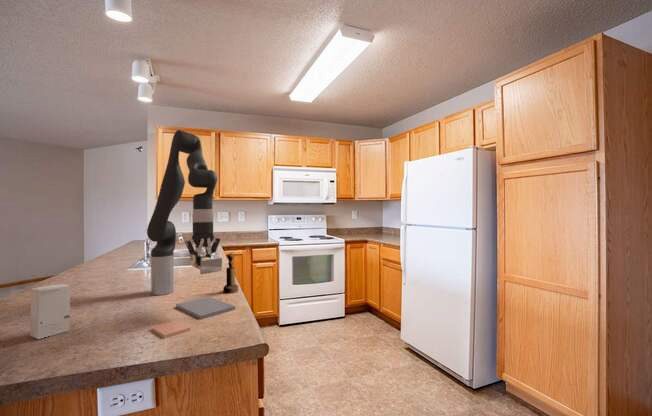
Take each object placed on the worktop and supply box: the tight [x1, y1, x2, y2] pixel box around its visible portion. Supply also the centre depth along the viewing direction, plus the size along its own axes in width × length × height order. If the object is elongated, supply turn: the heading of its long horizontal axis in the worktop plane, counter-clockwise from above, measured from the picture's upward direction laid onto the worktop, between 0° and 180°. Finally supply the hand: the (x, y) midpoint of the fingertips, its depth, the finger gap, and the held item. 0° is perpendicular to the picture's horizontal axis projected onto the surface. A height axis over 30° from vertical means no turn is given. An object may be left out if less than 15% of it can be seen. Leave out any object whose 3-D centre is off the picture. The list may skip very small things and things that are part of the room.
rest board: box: [175, 296, 236, 320], centre depth 122 cm, size 20×14×1 cm
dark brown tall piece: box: [223, 252, 239, 294], centre depth 146 cm, size 7×6×18 cm
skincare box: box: [29, 283, 71, 340], centre depth 98 cm, size 8×6×15 cm
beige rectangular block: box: [189, 253, 223, 275], centre depth 122 cm, size 15×8×5 cm, turn 48°
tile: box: [151, 319, 191, 339], centre depth 101 cm, size 1×8×10 cm
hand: (203, 264), depth 121 cm, fingers closed on beige rectangular block, 3 cm apart
